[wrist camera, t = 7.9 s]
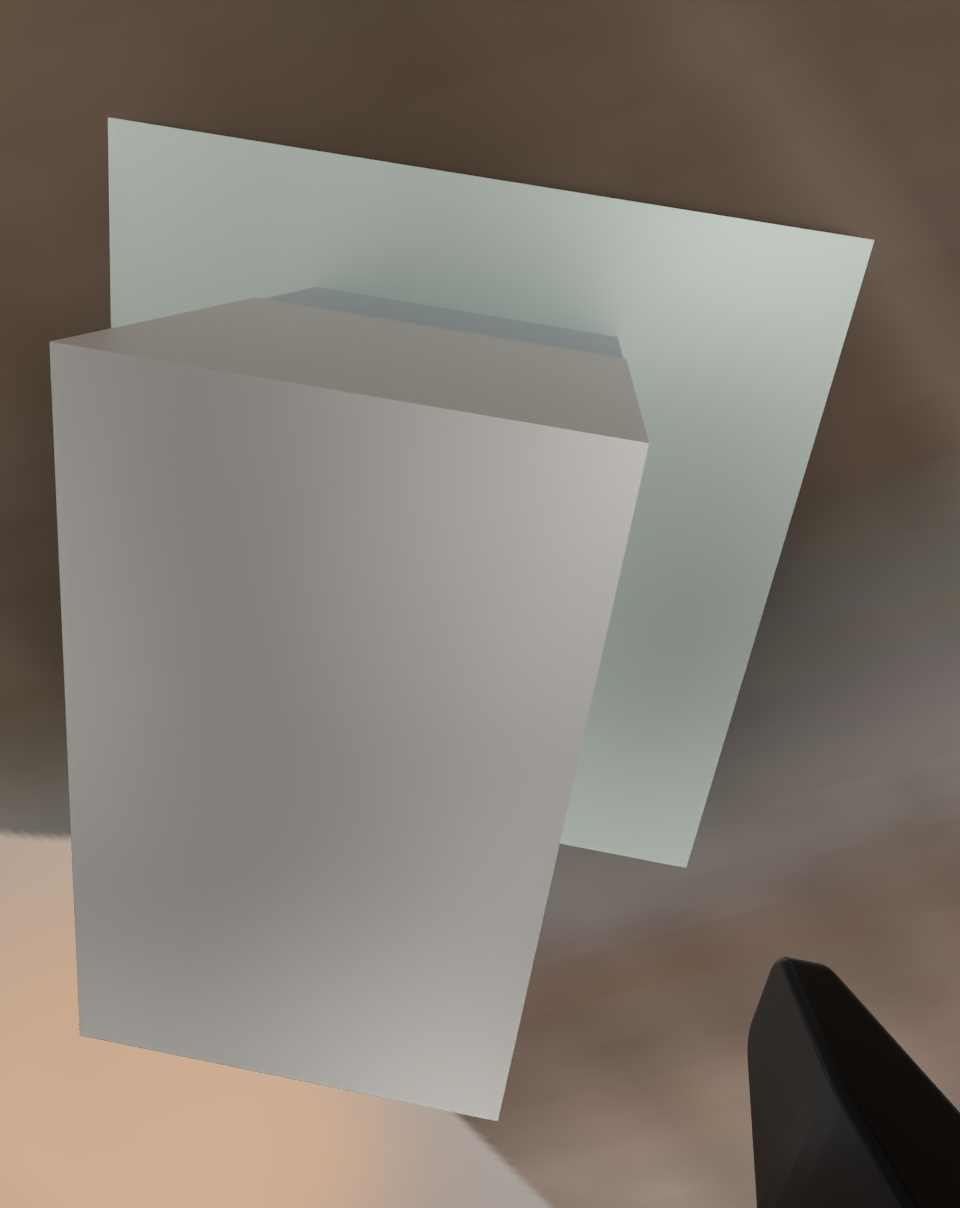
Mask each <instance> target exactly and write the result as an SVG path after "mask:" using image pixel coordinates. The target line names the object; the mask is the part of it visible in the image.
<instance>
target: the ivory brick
mask: <svg viewBox="0 0 960 1208" xmlns="http://www.w3.org/2000/svg"><path fill="white" fill-rule="evenodd" d="M49 344H50V367H51V390H52V413H53V435H54V458H55V481H56V503H57V526H58V549H59V572H60V594H61V617H62V640H63V663H64V685H65V708H66V731H67V754H68V776H69V799H70V822H71V845H72V864H73V865H72V867H73V888H74V889H73V890H74V913H75V934H76V958H77V979H78V1003H79V1026H80V1036H85V1037H90V1038H95V1039H100V1040H105V1041H109V1042H114V1043H119V1044H124V1045H129V1046H134V1047H139V1048H144V1049H148V1050H154V1051H158V1052H163V1053H168V1054H173V1055H177V1056H183V1057H188V1058H192V1059H197V1060H202V1061H207V1062H212V1063H217V1064H222V1065H227V1066H231V1067H236V1068H241V1069H246V1070H251V1071H256V1072H260V1073H265V1074H270V1075H275V1076H280V1077H285V1078H290V1079H294V1080H299V1081H304V1082H309V1083H314V1084H319V1085H324V1086H329V1087H334V1088H339V1089H343V1090H348V1091H353V1092H358V1093H363V1094H367V1095H373V1096H377V1097H382V1098H387V1099H392V1100H397V1101H402V1102H406V1103H412V1104H416V1105H421V1106H426V1107H431V1108H436V1109H441V1110H445V1111H450V1112H455V1113H460V1114H465V1115H470V1116H475V1117H480V1118H484V1119H489V1120H494V1121H498V1118H499V1113H500V1109H501V1104H502V1100H503V1095H504V1091H505V1086H506V1082H507V1077H508V1073H509V1068H510V1064H511V1060H512V1055H513V1051H514V1046H515V1042H516V1037H517V1033H518V1028H519V1024H520V1019H521V1015H522V1010H523V1006H524V1001H525V997H526V992H527V988H528V983H529V979H530V975H531V970H532V966H533V961H534V957H535V952H536V948H537V943H538V939H539V934H540V930H541V925H542V921H543V916H544V912H545V907H546V903H547V898H548V894H549V890H550V885H551V881H552V876H553V872H554V867H555V863H556V858H557V854H558V849H559V845H560V840H561V836H562V831H563V827H564V822H565V818H566V814H567V809H568V805H569V800H570V796H571V791H572V787H573V782H574V778H575V773H576V769H577V764H578V760H579V755H580V751H581V746H582V742H583V737H584V733H585V729H586V724H587V720H588V715H589V711H590V706H591V702H592V697H593V693H594V688H595V684H596V679H597V675H598V670H599V666H600V661H601V657H602V652H603V648H604V644H605V639H606V635H607V630H608V626H609V621H610V617H611V612H612V608H613V603H614V599H615V594H616V590H617V585H618V581H619V576H620V572H621V568H622V563H623V559H624V554H625V550H626V545H627V541H628V536H629V532H630V527H631V523H632V518H633V514H634V509H635V505H636V500H637V496H638V491H639V487H640V483H641V478H642V474H643V469H644V465H645V460H646V456H647V451H648V447H649V441H648V437H647V433H646V430H645V426H644V422H643V419H642V415H641V411H640V408H639V404H638V400H637V397H636V393H635V389H634V386H633V382H632V378H631V375H630V371H629V367H628V364H627V360H626V359H625V358H619V357H613V356H606V355H600V354H594V353H588V352H582V351H576V350H570V349H564V348H558V347H552V346H546V345H540V344H534V343H528V342H522V341H516V340H510V339H504V338H498V337H492V336H486V335H480V334H474V333H467V332H461V331H455V330H449V329H443V328H437V327H431V326H425V325H419V324H413V323H407V322H401V321H395V320H389V319H383V318H377V317H371V316H365V315H359V314H353V313H347V312H341V311H334V310H328V309H322V308H316V307H310V306H304V305H298V304H292V303H286V302H280V301H274V300H268V299H262V298H256V297H254V298H249V299H244V300H240V301H235V302H230V303H226V304H221V305H217V306H212V307H207V308H203V309H198V310H193V311H189V312H184V313H180V314H175V315H170V316H166V317H161V318H156V319H152V320H147V321H143V322H138V323H133V324H129V325H124V326H119V327H115V328H110V329H106V330H101V331H96V332H92V333H87V334H82V335H78V336H73V337H69V338H64V339H59V340H55V341H50V342H49Z"/></svg>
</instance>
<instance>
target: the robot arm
mask: <svg viewBox="0 0 960 1208" xmlns="http://www.w3.org/2000/svg"><path fill="white" fill-rule="evenodd" d="M748 1071H749V1087H750V1103H751V1118H752V1134H753V1150H754V1166H755V1182H756V1198H757V1208H960V1112H959V1111H958V1110H957V1109H956V1108H955V1107H954V1106H953V1104H952V1103H951V1102H950V1101H949V1100H948V1099H947V1098H946V1097H945V1095H944V1094H943V1093H942V1092H941V1091H940V1090H939V1089H938V1088H937V1087H936V1085H935V1084H934V1083H933V1082H932V1081H931V1080H930V1079H929V1078H928V1076H927V1075H926V1074H925V1073H924V1072H923V1071H922V1070H921V1069H920V1068H919V1066H918V1065H917V1064H916V1063H915V1062H914V1061H913V1060H912V1059H911V1057H910V1056H909V1055H908V1054H907V1053H906V1052H905V1051H904V1050H903V1049H902V1047H901V1046H900V1045H899V1044H898V1043H897V1042H896V1041H895V1040H894V1038H893V1037H892V1036H891V1035H890V1034H889V1033H888V1032H887V1031H886V1030H885V1028H884V1027H883V1026H882V1025H881V1024H880V1023H879V1022H878V1021H877V1019H876V1018H875V1017H874V1016H873V1015H872V1014H871V1013H870V1012H869V1010H868V1009H867V1008H866V1007H865V1006H864V1005H863V1004H862V1003H861V1002H860V1000H859V999H858V998H857V997H856V996H855V995H854V994H853V993H852V991H851V990H850V989H849V988H848V987H847V986H846V985H845V984H844V983H843V981H842V980H841V979H840V978H839V977H838V976H837V975H836V974H835V973H834V972H833V971H832V970H831V969H830V968H829V967H827V966H825V965H823V964H819V963H814V962H809V961H804V960H799V959H794V958H789V957H783V958H780V959H778V960H777V961H776V962H775V963H774V965H773V966H772V968H771V971H770V973H769V976H768V979H767V982H766V984H765V987H764V990H763V993H762V995H761V998H760V1001H759V1004H758V1006H757V1009H756V1012H755V1015H754V1017H753V1020H752V1023H751V1026H750V1031H749V1037H748Z"/></svg>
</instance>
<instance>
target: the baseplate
mask: <svg viewBox="0 0 960 1208" xmlns="http://www.w3.org/2000/svg"><path fill="white" fill-rule="evenodd" d="M108 164H109V230H110V296H111V328H115V327H119V326H124V325H129V324H133V323H138V322H143V321H147V320H152V319H156V318H161V317H166V316H170V315H175V314H180V313H184V312H189V311H193V310H198V309H203V308H207V307H212V306H217V305H221V304H226V303H230V302H235V301H240V300H244V299H249V298H254V297H256V298H262V299H268V300H274V301H280V302H286V303H292V304H298V305H304V306H310V307H316V308H322V309H328V310H334V311H341V312H347V313H353V314H359V315H365V316H371V317H377V318H383V319H389V320H395V321H401V322H407V323H413V324H419V325H425V326H431V327H437V328H443V329H449V330H455V331H461V332H467V333H474V334H480V335H486V336H492V337H498V338H504V339H510V340H516V341H522V342H528V343H534V344H540V345H546V346H552V347H558V348H564V349H570V350H576V351H582V352H588V353H594V354H600V355H606V356H613V357H619V358H625V359H626V360H627V364H628V367H629V371H630V375H631V378H632V382H633V386H634V389H635V393H636V397H637V400H638V404H639V408H640V411H641V415H642V419H643V422H644V426H645V430H646V433H647V437H648V441H649V447H648V451H647V456H646V460H645V465H644V469H643V474H642V478H641V483H640V487H639V491H638V496H637V500H636V505H635V509H634V514H633V518H632V523H631V527H630V532H629V536H628V541H627V545H626V550H625V554H624V559H623V563H622V568H621V572H620V576H619V581H618V585H617V590H616V594H615V599H614V603H613V608H612V612H611V617H610V621H609V626H608V630H607V635H606V639H605V644H604V648H603V652H602V657H601V661H600V666H599V670H598V675H597V679H596V684H595V688H594V693H593V697H592V702H591V706H590V711H589V715H588V720H587V724H586V729H585V733H584V737H583V742H582V746H581V751H580V755H579V760H578V764H577V769H576V773H575V778H574V782H573V787H572V791H571V796H570V800H569V805H568V809H567V814H566V818H565V822H564V827H563V831H562V836H561V840H560V844H564V845H570V846H575V847H580V848H585V849H590V850H595V851H601V852H606V853H611V854H616V855H621V856H627V857H632V858H637V859H642V860H647V861H653V862H658V863H663V864H668V865H673V866H679V867H684V868H686V867H687V864H688V860H689V857H690V854H691V850H692V847H693V844H694V840H695V837H696V834H697V830H698V827H699V824H700V820H701V817H702V814H703V810H704V807H705V804H706V800H707V797H708V794H709V790H710V787H711V784H712V780H713V777H714V774H715V770H716V767H717V764H718V760H719V757H720V754H721V750H722V747H723V744H724V740H725V737H726V734H727V730H728V727H729V724H730V720H731V717H732V714H733V710H734V707H735V704H736V700H737V697H738V694H739V690H740V687H741V684H742V680H743V677H744V674H745V670H746V667H747V664H748V660H749V657H750V654H751V650H752V647H753V644H754V640H755V637H756V634H757V630H758V627H759V624H760V620H761V617H762V614H763V610H764V607H765V604H766V600H767V597H768V594H769V590H770V587H771V584H772V580H773V577H774V574H775V570H776V567H777V564H778V560H779V557H780V554H781V550H782V547H783V544H784V540H785V537H786V534H787V530H788V527H789V524H790V520H791V517H792V514H793V510H794V507H795V504H796V500H797V497H798V494H799V490H800V487H801V484H802V480H803V477H804V474H805V470H806V467H807V464H808V460H809V457H810V454H811V450H812V447H813V444H814V440H815V437H816V434H817V430H818V427H819V424H820V420H821V417H822V414H823V410H824V407H825V404H826V400H827V397H828V394H829V390H830V387H831V384H832V380H833V377H834V374H835V370H836V367H837V364H838V360H839V357H840V354H841V350H842V347H843V344H844V340H845V337H846V334H847V330H848V327H849V324H850V320H851V317H852V314H853V310H854V307H855V304H856V300H857V297H858V294H859V290H860V287H861V284H862V280H863V277H864V274H865V270H866V267H867V264H868V260H869V257H870V254H871V250H872V247H873V244H874V240H871V239H865V238H858V237H852V236H846V235H840V234H833V233H827V232H821V231H815V230H808V229H802V228H796V227H790V226H784V225H777V224H771V223H765V222H759V221H752V220H746V219H740V218H734V217H727V216H721V215H715V214H709V213H702V212H696V211H690V210H684V209H677V208H671V207H665V206H659V205H652V204H646V203H640V202H634V201H627V200H621V199H615V198H609V197H602V196H596V195H590V194H584V193H577V192H571V191H565V190H559V189H553V188H546V187H540V186H534V185H528V184H521V183H515V182H509V181H503V180H496V179H490V178H484V177H478V176H471V175H465V174H459V173H453V172H446V171H440V170H434V169H428V168H421V167H415V166H409V165H403V164H396V163H390V162H384V161H378V160H371V159H365V158H359V157H353V156H347V155H340V154H334V153H328V152H322V151H315V150H309V149H303V148H297V147H290V146H284V145H278V144H272V143H265V142H259V141H253V140H247V139H240V138H234V137H228V136H222V135H215V134H209V133H203V132H197V131H190V130H184V129H178V128H172V127H165V126H159V125H153V124H147V123H140V122H134V121H128V120H122V119H116V118H109V117H108Z"/></svg>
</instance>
